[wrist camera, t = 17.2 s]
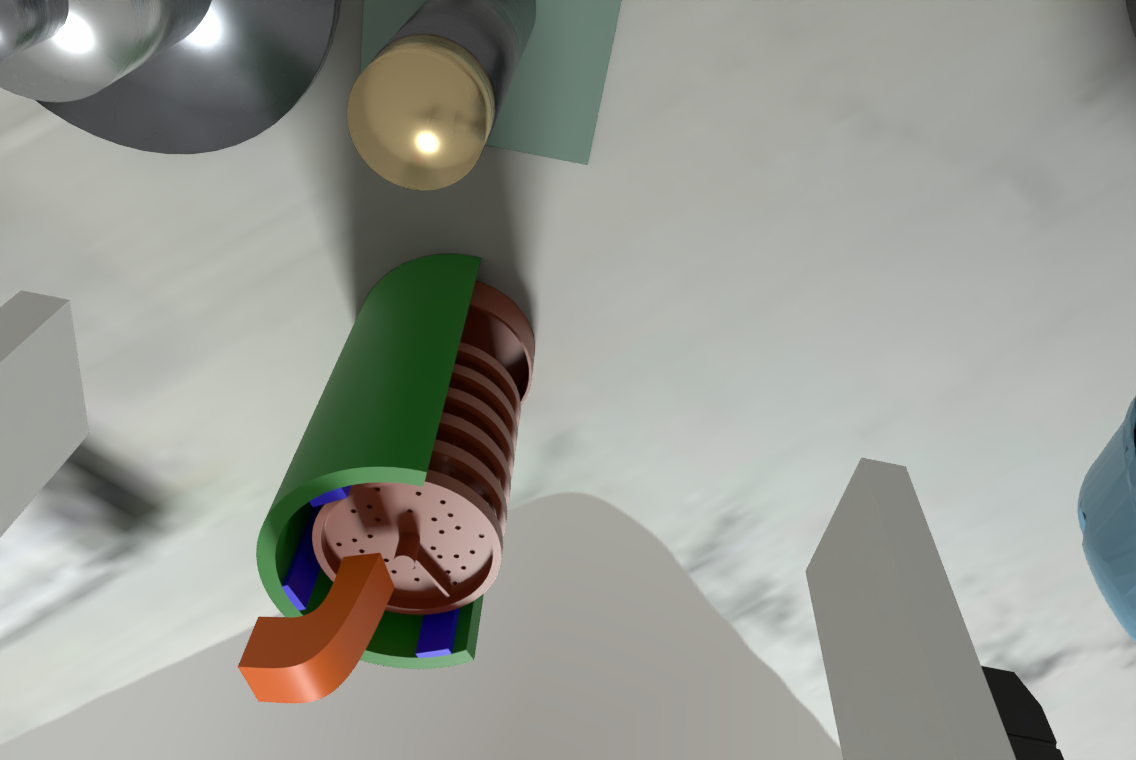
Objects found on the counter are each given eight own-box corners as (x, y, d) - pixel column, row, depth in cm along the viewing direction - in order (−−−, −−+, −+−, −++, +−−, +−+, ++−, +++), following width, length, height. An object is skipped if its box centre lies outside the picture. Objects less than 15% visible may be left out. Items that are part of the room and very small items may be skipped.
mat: (639, -91, 33) (640, -90, 33) (587, 161, 39) (587, 165, 39) (373, -149, 33) (371, -148, 32) (359, 116, 38) (357, 119, 38)
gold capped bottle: (539, -37, 34) (491, 60, 23) (532, 64, 36) (484, 200, 25) (441, -49, 34) (341, 42, 23) (439, 53, 36) (348, 183, 25)
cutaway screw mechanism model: (566, 403, 46) (536, 751, 30) (412, 445, 49) (306, 792, 32) (489, 234, 41) (402, 544, 25) (321, 289, 43) (137, 609, 27)
